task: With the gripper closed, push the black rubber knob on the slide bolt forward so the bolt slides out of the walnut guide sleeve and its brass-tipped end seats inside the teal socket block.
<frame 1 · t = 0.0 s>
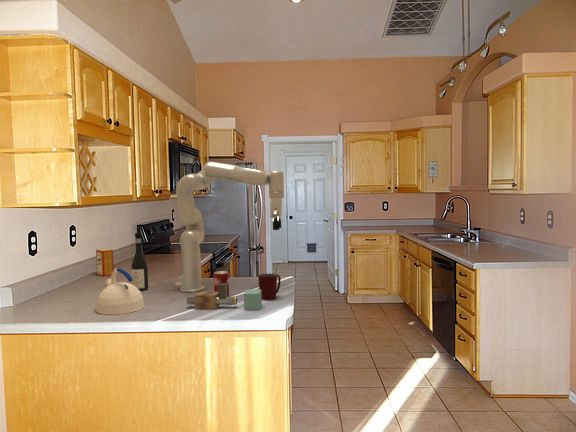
hand: (277, 228, 229), 31 cm above the countertop, tool pointing down, fingers open, 9 cm apart
wine bottle: (140, 290, 237), on the countertop
baking soda box: (105, 275, 280), on the countertop
mug: (270, 298, 215), on the countertop
soda can: (221, 297, 219), on the countertop
guide sleeve: (207, 307, 200), on the countertop
slide bolt: (211, 294, 199), point 6 cm above the countertop, slide at 0.0 cm
socket block: (253, 307, 198), on the countertop
kettle: (120, 309, 201), on the countertop
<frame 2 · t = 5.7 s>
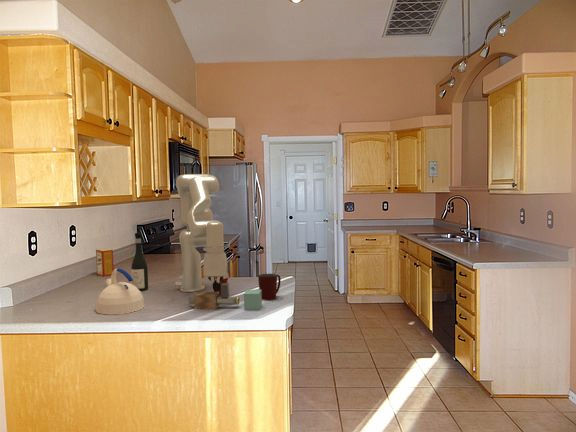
hand: (216, 291, 199), 7 cm above the countertop, tool pointing down, fingers closed
slide bolt: (214, 294, 199), point 6 cm above the countertop, slide at 1.0 cm, touching gripper
everything else where it was.
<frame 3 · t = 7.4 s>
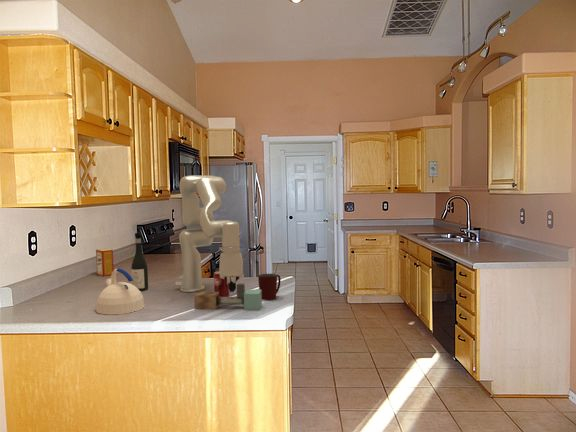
hand: (232, 291, 199), 7 cm above the countertop, tool pointing down, fingers closed
slide bolt: (229, 294, 199), point 6 cm above the countertop, slide at 8.0 cm, touching gripper
everything else where it was.
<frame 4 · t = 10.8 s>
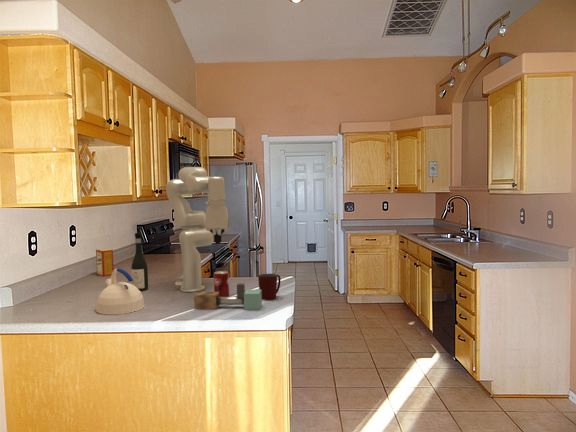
hand: (217, 243, 208), 27 cm above the countertop, tool pointing down, fingers closed
slide bolt: (229, 294, 199), point 6 cm above the countertop, slide at 8.0 cm
everything else where it was.
at the end: slide bolt slide at 8.0 cm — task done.
